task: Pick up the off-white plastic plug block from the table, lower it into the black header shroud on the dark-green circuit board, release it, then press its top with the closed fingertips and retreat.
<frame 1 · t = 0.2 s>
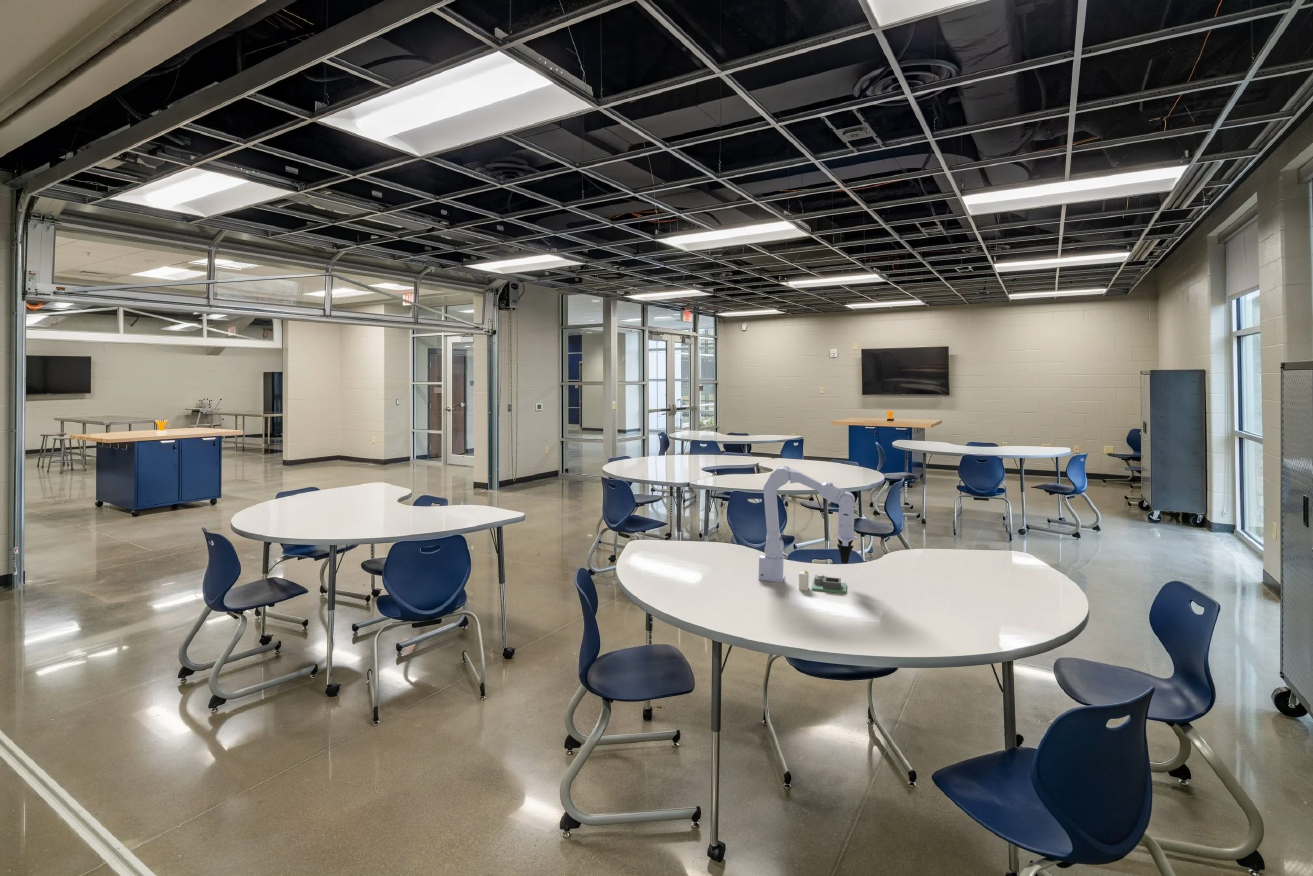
hand: (844, 560, 231), 10 cm above the table, fingers open, 7 cm apart
board: (829, 587, 229), on the table
plug: (803, 588, 228), on the table
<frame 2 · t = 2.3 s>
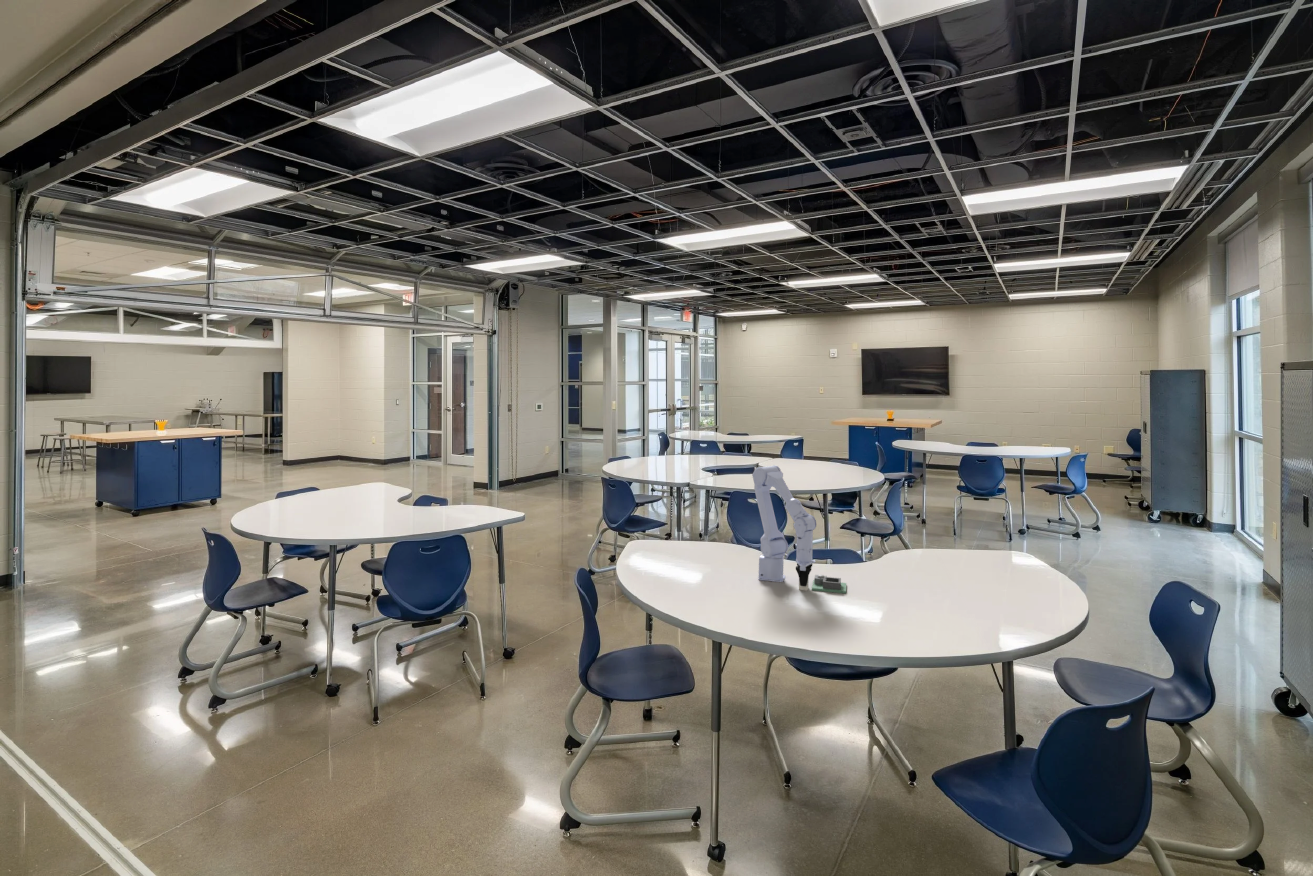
hand: (803, 584, 228), 2 cm above the table, fingers closed on plug, 3 cm apart
plug: (803, 588, 228), on the table, touching gripper
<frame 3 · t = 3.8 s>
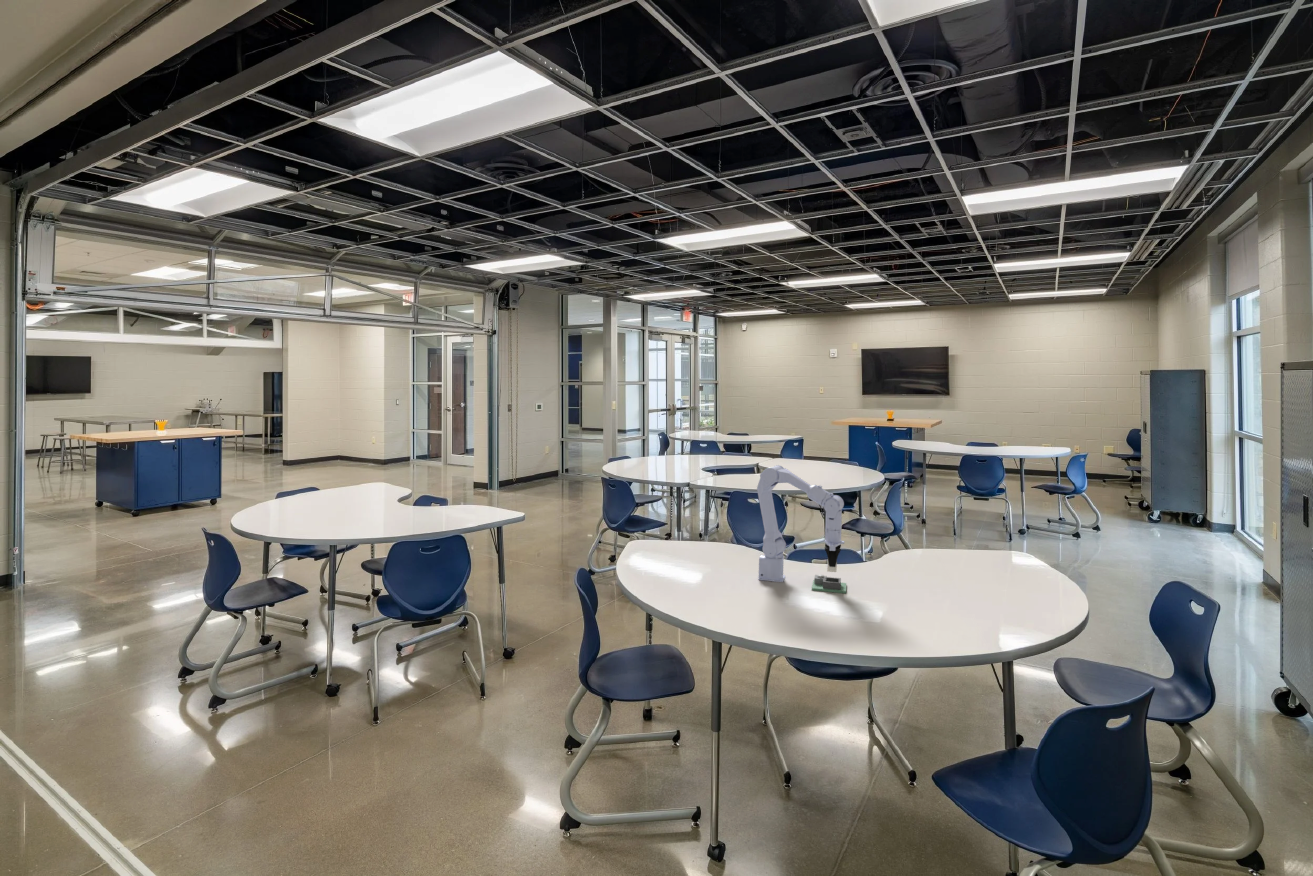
hand: (832, 565, 227), 9 cm above the table, fingers closed on plug, 3 cm apart
plug: (832, 570, 227), point 7 cm above the table, touching gripper
when the fingers open (4 cm above the table, at t = 5.1 s): plug stays where it is, resting on board.
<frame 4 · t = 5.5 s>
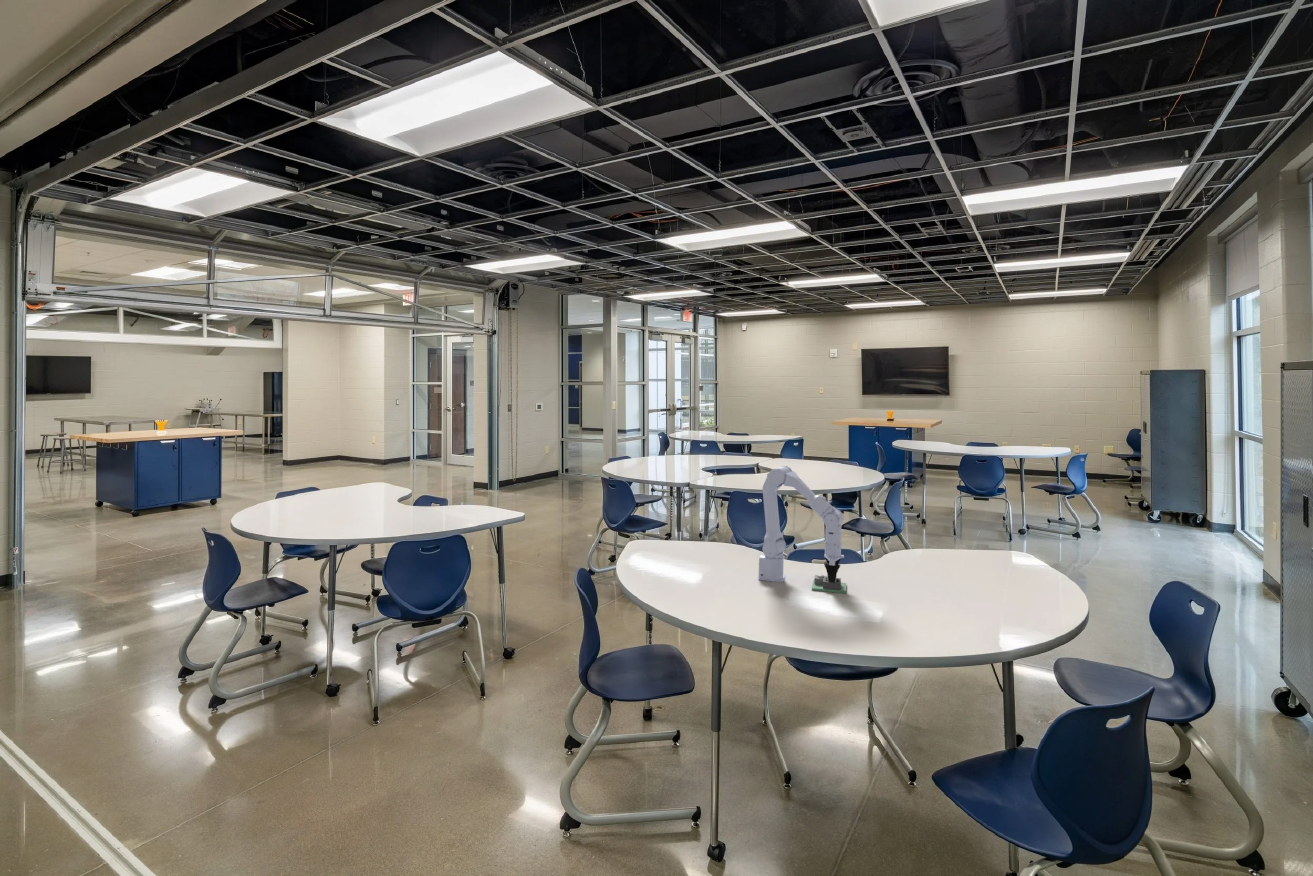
hand: (832, 579, 228), 4 cm above the table, fingers open, 7 cm apart
plug: (831, 586, 228), point 1 cm above the table, touching board
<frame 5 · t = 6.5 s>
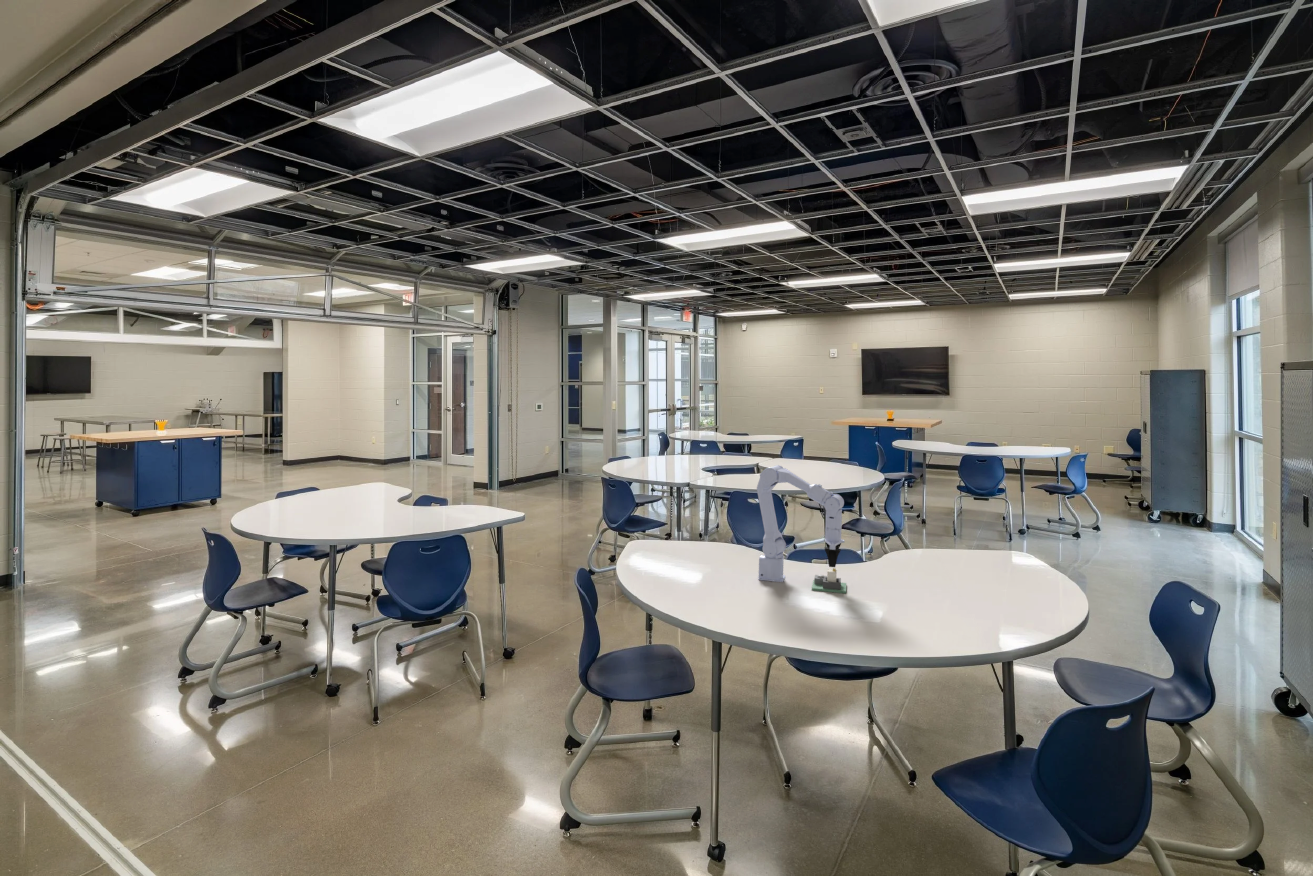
hand: (832, 564, 227), 9 cm above the table, fingers open, 7 cm apart
nothing on the table moved.
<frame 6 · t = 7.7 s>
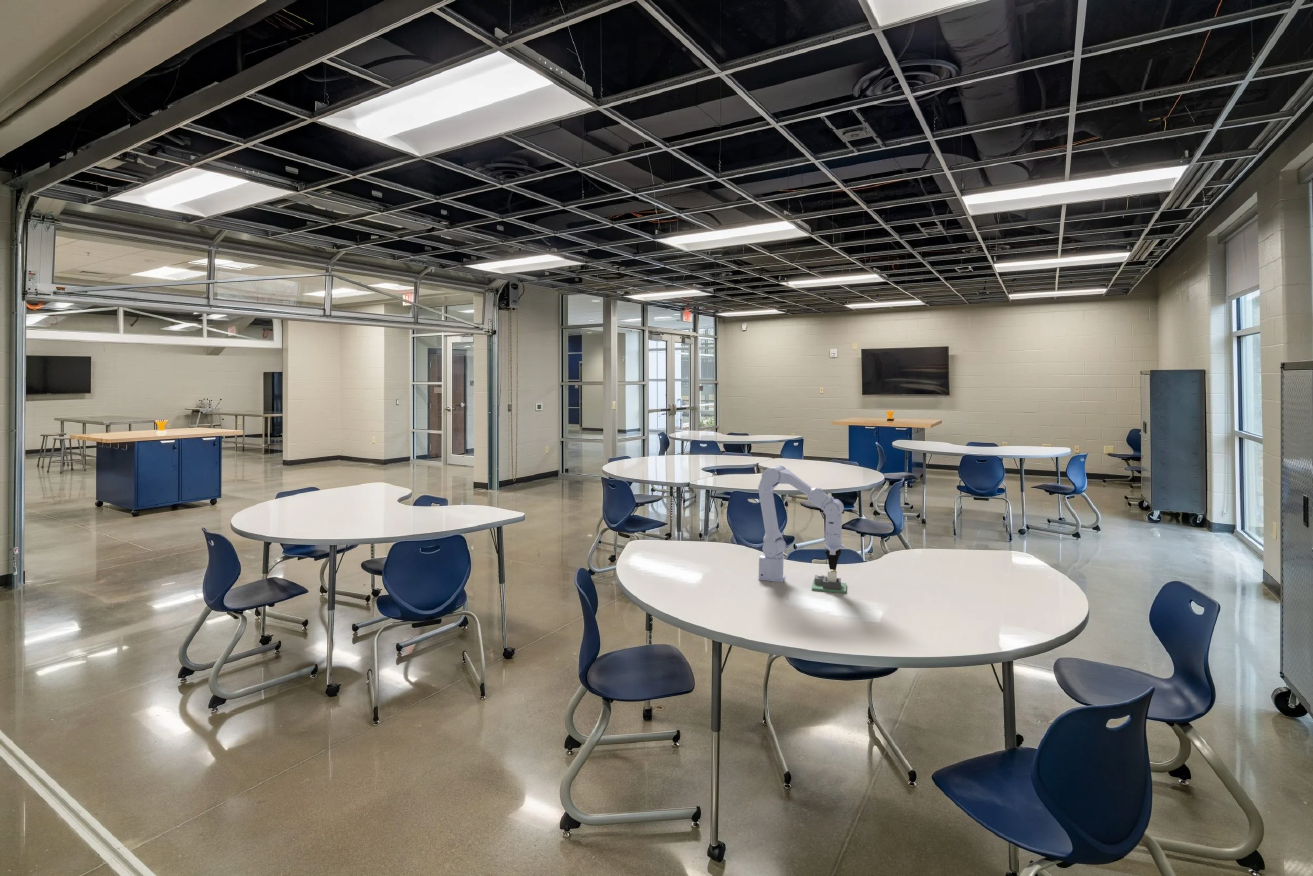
hand: (832, 569, 227), 7 cm above the table, fingers closed, pressing on plug
plug: (831, 586, 228), point 1 cm above the table, touching board, gripper
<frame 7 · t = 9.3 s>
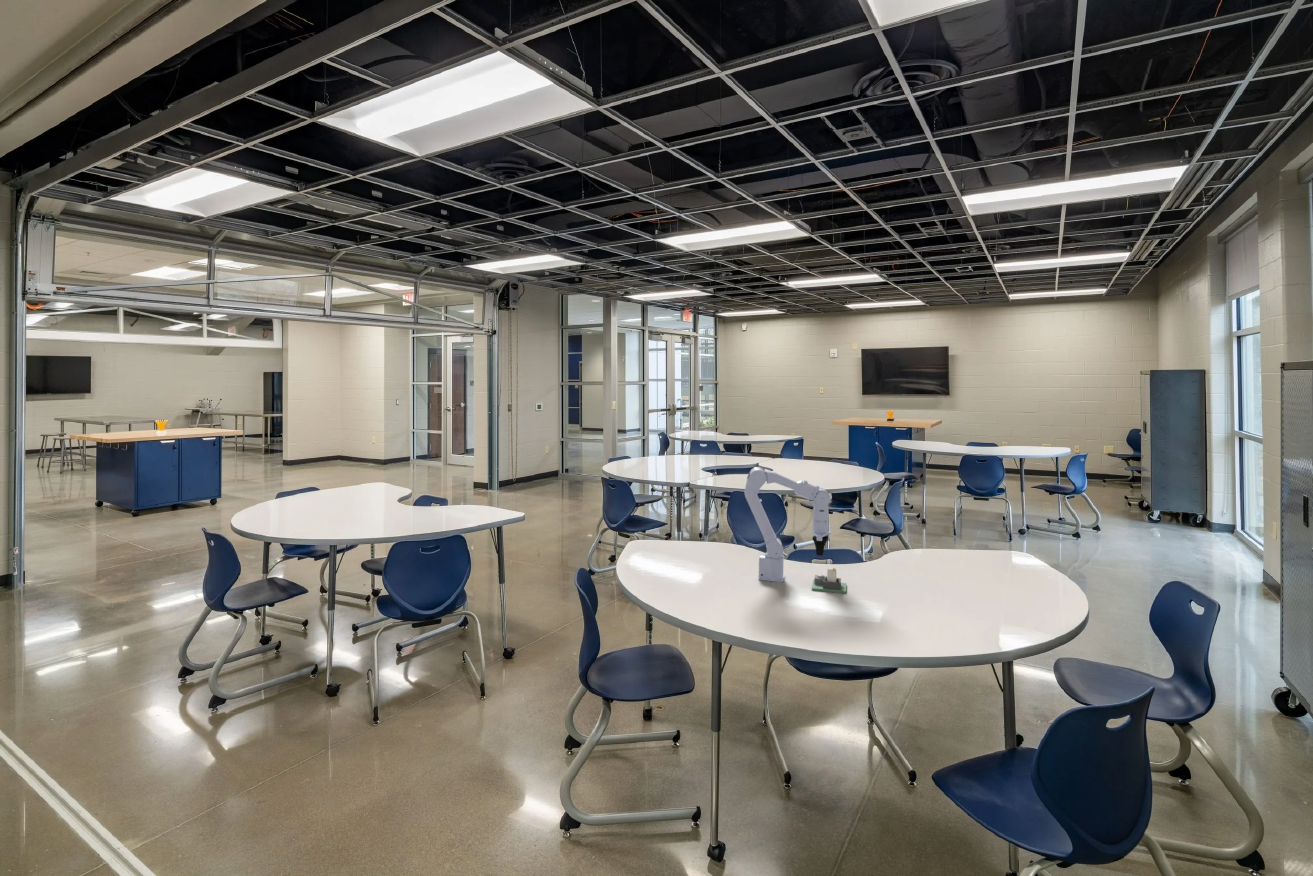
hand: (819, 555, 237), 10 cm above the table, fingers closed
plug: (831, 586, 228), point 1 cm above the table, touching board
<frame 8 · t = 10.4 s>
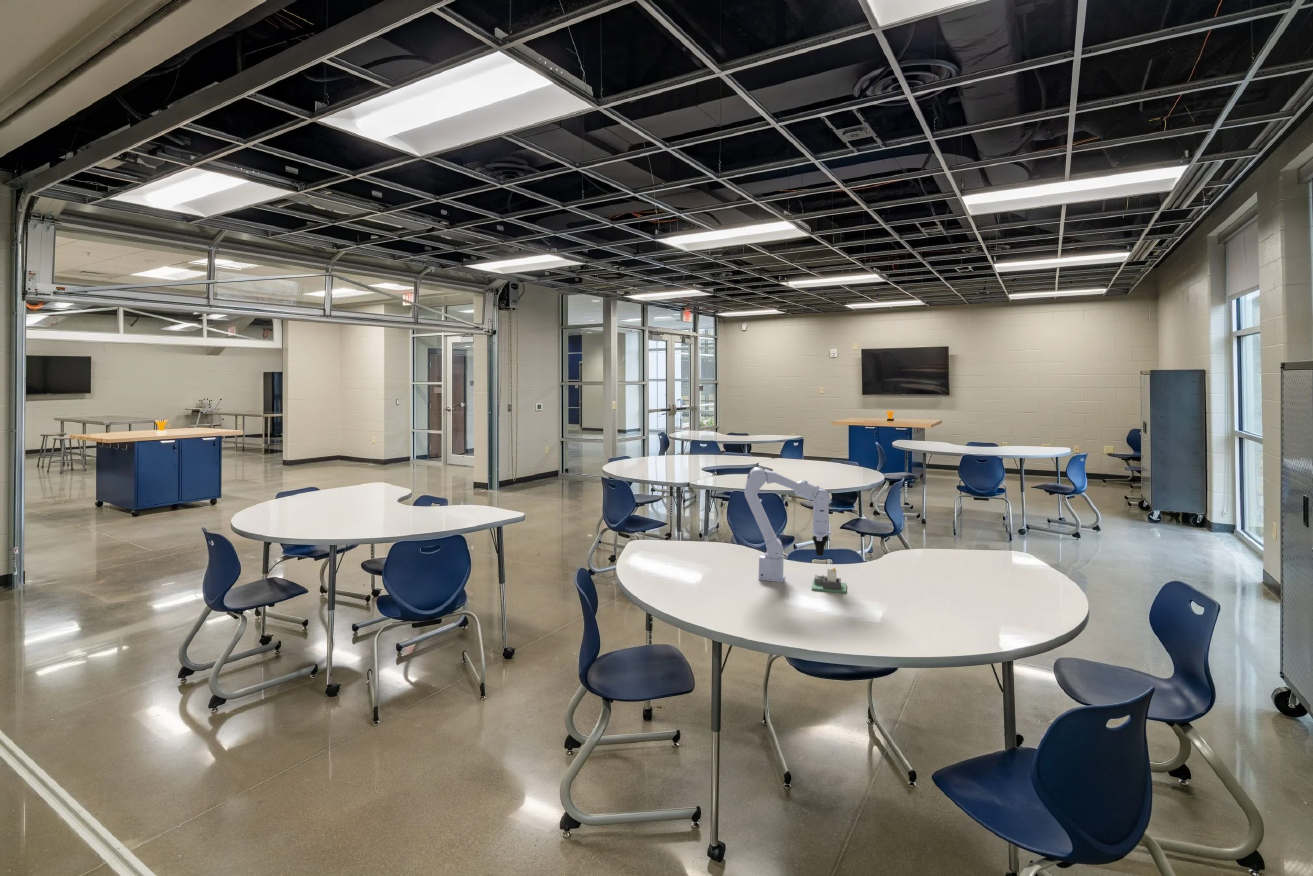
hand: (819, 555, 237), 10 cm above the table, fingers closed
nothing on the table moved.
at the end: plug 0.1 cm off-centre on the board, point 0.8 cm above the board's base; plug tilted 0°; the gripper is holding nothing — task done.
